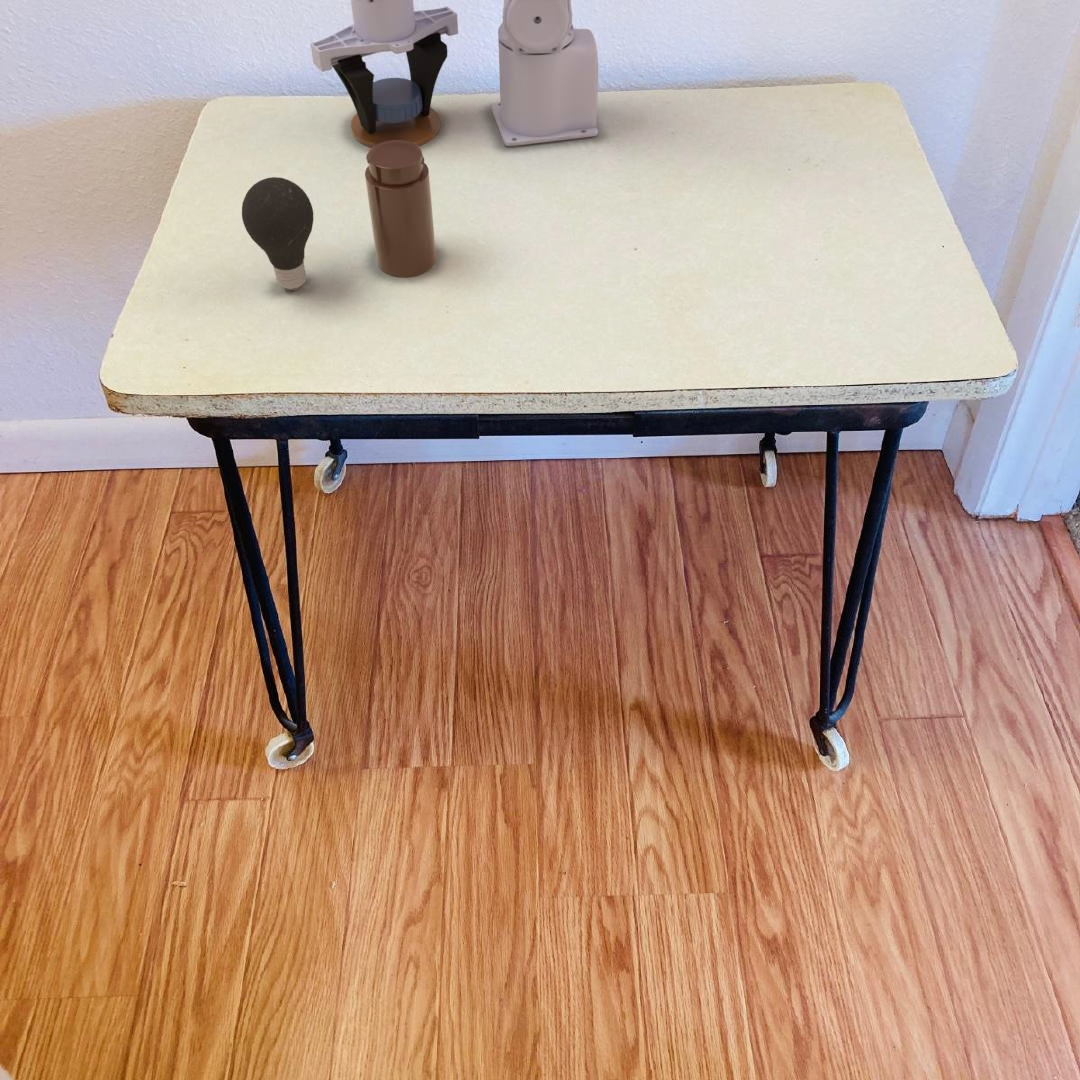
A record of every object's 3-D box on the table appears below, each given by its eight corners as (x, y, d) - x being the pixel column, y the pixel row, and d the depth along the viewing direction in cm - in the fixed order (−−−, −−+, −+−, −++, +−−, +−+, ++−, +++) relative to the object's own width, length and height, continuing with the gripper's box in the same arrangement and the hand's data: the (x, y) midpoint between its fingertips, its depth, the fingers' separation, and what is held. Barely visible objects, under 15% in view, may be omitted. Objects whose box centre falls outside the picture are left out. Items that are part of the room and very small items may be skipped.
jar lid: (363, 97, 110) (361, 79, 109) (419, 92, 111) (418, 75, 109) (367, 126, 106) (364, 108, 105) (425, 121, 107) (423, 103, 105)
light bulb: (333, 269, 94) (314, 164, 87) (318, 309, 91) (297, 204, 83) (269, 265, 95) (245, 161, 87) (252, 305, 91) (225, 200, 83)
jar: (429, 238, 97) (419, 133, 90) (442, 271, 94) (433, 165, 86) (372, 247, 96) (357, 142, 89) (382, 281, 93) (368, 175, 86)
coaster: (433, 100, 113) (433, 95, 113) (447, 144, 108) (446, 140, 107) (347, 109, 112) (346, 105, 112) (356, 155, 106) (355, 150, 106)
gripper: (325, 15, 94) (346, 158, 105) (470, -23, 99) (477, 117, 110) (292, -15, 98) (316, 126, 108) (433, -50, 103) (443, 88, 113)
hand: (395, 120), depth 109 cm, fingers closed on jar lid, 5 cm apart
